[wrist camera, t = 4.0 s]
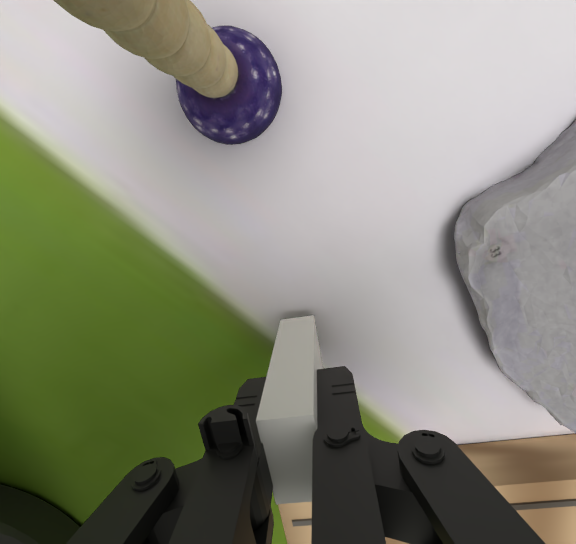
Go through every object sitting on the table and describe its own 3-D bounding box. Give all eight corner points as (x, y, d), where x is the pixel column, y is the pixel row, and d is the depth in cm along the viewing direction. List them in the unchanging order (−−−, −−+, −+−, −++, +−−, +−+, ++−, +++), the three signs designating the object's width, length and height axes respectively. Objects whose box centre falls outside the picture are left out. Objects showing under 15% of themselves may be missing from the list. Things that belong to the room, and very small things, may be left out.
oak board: (306, 569, 21) (306, 623, 18) (282, 461, 19) (277, 505, 16) (715, 546, 18) (780, 605, 16) (735, 418, 16) (814, 462, 14)
